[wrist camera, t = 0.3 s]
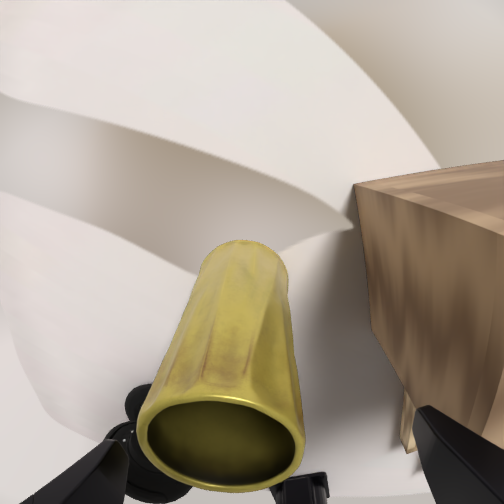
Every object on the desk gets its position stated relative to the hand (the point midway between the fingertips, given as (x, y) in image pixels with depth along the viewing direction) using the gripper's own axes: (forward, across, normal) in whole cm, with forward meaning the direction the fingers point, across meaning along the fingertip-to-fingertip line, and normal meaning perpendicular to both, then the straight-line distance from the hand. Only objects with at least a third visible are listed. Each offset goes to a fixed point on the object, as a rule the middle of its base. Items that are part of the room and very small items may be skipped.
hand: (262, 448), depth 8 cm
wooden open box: (+14, -16, 0) cm, 21 cm away
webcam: (+15, +11, +12) cm, 22 cm away
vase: (+15, +1, 0) cm, 15 cm away
